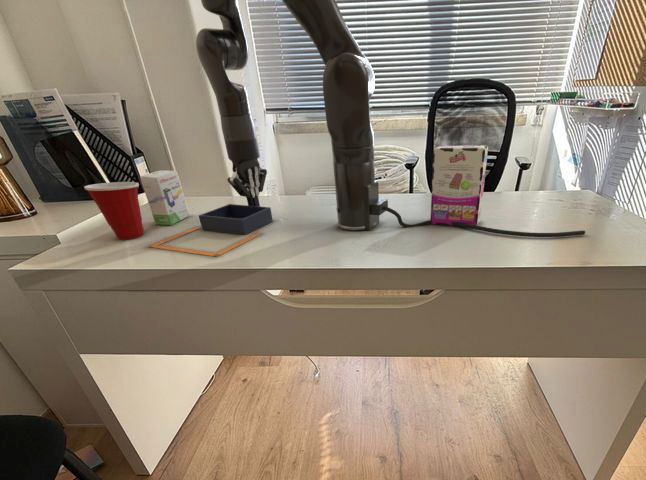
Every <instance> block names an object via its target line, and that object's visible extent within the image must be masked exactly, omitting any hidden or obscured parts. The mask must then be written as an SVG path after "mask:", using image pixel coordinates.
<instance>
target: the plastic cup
mask: <svg viewBox="0 0 646 480" xmlns="http://www.w3.org/2000/svg"><path fill="white" fill-rule="evenodd" d="M139 186H140V184H139V182H134V181H114V182H101V183H94V184H88V185H85V186H83V187H84V189H85V190H86V191H87V192H88V194H89V195H90V197H91V198H92V200H93V202H94V203H95V204H96V206H97V208H98V209H99V211H100V212H101V214H102V216H103V217H104V219H105V221H106V222H107V224H108V226H109V227H110V228H111V230H112V231H113V233H114V235H115V236H116V237H117V239H118V240H123V241H125V240H132V239H138V238H140V237H142V236H144V235H145V233H144V232H145V231H144V230H145V229H144V225H143V221H142V220H143V219H142V212H141V207H140V202H139V201H140V200H139V191H138V190H139Z"/></svg>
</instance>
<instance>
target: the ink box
mask: <svg viewBox="0 0 646 480" xmlns="http://www.w3.org/2000/svg"><path fill="white" fill-rule="evenodd" d="M139 179H140V182H141V184H142V187H143V190H144V194H145V197H146V199H147V202H148V206H149V208H150V212H151V215H152V218H153V220H154V221H153V222H154V224H155V225H162V226H164V225H165V226H173V225H175V224H177V223H178V222H180V221H183V219H187V218H188V217H189V216H191V215H190V211H189V209H188V205H187V202H186V201H187V200H186V197H185V194H184V191H183V188H182V184H181V180H180V177H179V173H178V171H177V170H165V169H164V170H157V171H153V172H149V173H146V174H143V175H140V177H139Z"/></svg>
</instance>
